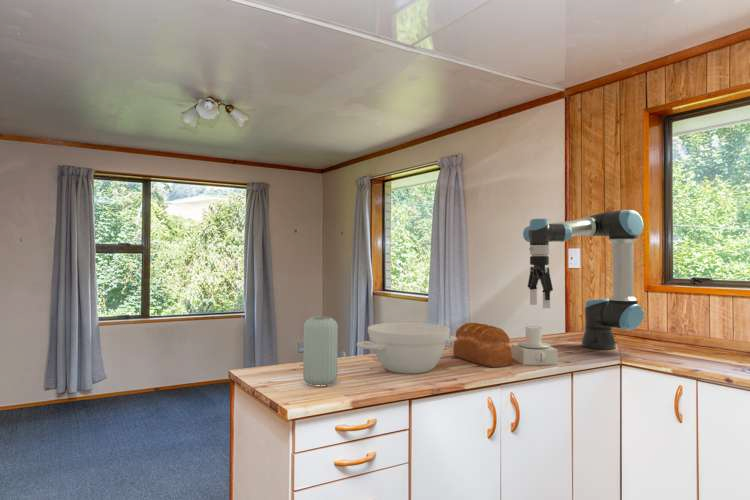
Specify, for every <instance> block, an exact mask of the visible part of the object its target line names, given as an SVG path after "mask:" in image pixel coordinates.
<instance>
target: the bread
mask: <svg viewBox="0 0 750 500" xmlns="http://www.w3.org/2000/svg"><path fill="white" fill-rule="evenodd" d="M455 337H457V340H456V341H453V349H452V350H453V352H452V353H453V356H454V357H456V358H458V359H462V360H464V361H468V362H471V363H475V364H477V365H481V366H484V367H489V368H501V367H502V368H503V367H509V366H510V365H512V363H513V358H512V345H510V337H509V335H508V334H507V332H505V330H503V329H502V328H501V327H498V326H497V327H496V326H493V325H489V324H486V323H479V322H466V323H463V325H461V326H459V328H457V329H456V330H455Z"/></svg>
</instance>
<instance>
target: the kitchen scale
mask: <svg viewBox="0 0 750 500" xmlns="http://www.w3.org/2000/svg"><path fill="white" fill-rule="evenodd" d="M511 349H512V360H515V361H516V362H517V363H519V364H521V363H522V364H521V365H523V366H534V365H535V366H545V365H547V366H548V365H550V366H551V365H555V366H556V365H558V364H559V363H558V361H559V360H558V358H559V357H558V356H559V355H558V353H559V351H558V350H559V349H558V348H555V347H553V346H551V344H550V343H547V342H542V341H541V345H528V344H527V341H526V340H525V341H518V342H517V343H511Z"/></svg>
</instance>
